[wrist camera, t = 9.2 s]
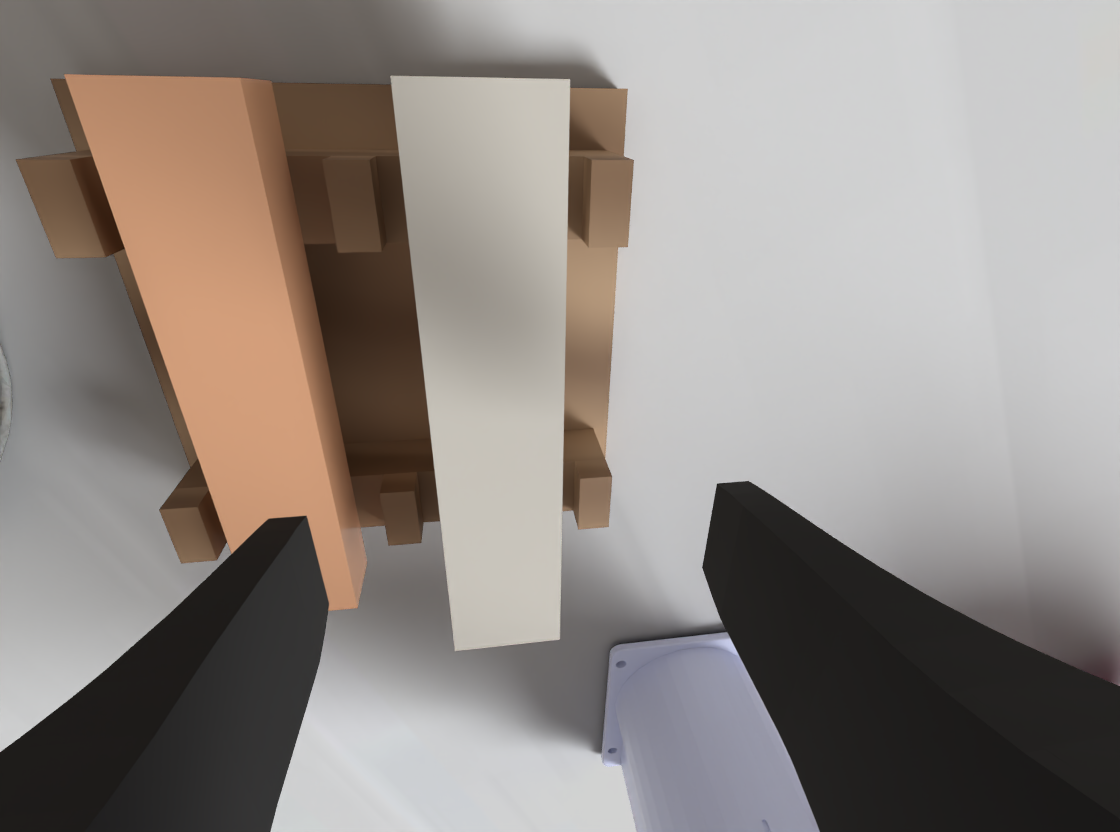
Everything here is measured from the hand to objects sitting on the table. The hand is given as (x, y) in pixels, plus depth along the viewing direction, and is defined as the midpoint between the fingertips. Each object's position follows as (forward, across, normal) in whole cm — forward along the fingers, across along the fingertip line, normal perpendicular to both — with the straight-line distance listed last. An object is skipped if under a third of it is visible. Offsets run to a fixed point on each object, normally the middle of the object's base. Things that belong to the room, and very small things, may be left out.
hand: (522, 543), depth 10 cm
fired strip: (+7, +6, 0) cm, 10 cm away
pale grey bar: (+7, 0, 0) cm, 7 cm away
